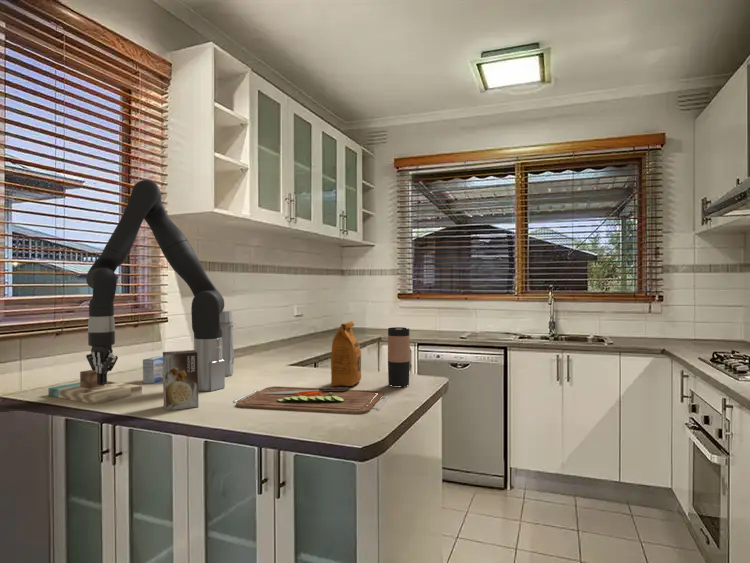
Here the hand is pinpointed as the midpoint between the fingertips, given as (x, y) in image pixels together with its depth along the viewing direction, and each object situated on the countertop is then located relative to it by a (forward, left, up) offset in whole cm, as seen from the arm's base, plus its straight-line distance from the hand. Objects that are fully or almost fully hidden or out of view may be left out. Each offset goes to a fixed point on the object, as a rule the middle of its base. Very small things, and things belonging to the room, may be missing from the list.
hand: (102, 384), depth 163 cm
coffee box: (-33, -2, -4) cm, 34 cm away
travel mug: (-76, -59, -4) cm, 97 cm away
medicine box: (+6, -24, -4) cm, 25 cm away
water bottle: (-9, -44, -4) cm, 45 cm away
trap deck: (+4, 0, -4) cm, 5 cm away
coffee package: (-59, -52, -4) cm, 79 cm away
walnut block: (+5, 0, -1) cm, 5 cm away
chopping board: (-62, -27, -4) cm, 68 cm away
